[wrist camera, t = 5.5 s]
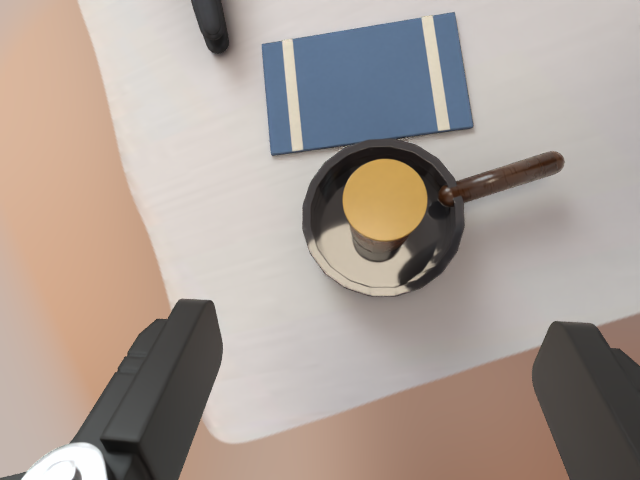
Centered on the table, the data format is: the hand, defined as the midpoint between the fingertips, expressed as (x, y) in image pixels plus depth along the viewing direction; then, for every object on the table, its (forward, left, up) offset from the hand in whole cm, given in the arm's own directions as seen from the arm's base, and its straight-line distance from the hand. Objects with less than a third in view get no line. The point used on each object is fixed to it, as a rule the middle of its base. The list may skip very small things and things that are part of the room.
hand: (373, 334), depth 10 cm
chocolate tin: (+3, -6, -24) cm, 25 cm away
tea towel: (+12, -16, -25) cm, 32 cm away
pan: (+3, -6, -25) cm, 26 cm away
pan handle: (-2, -14, -22) cm, 27 cm away
